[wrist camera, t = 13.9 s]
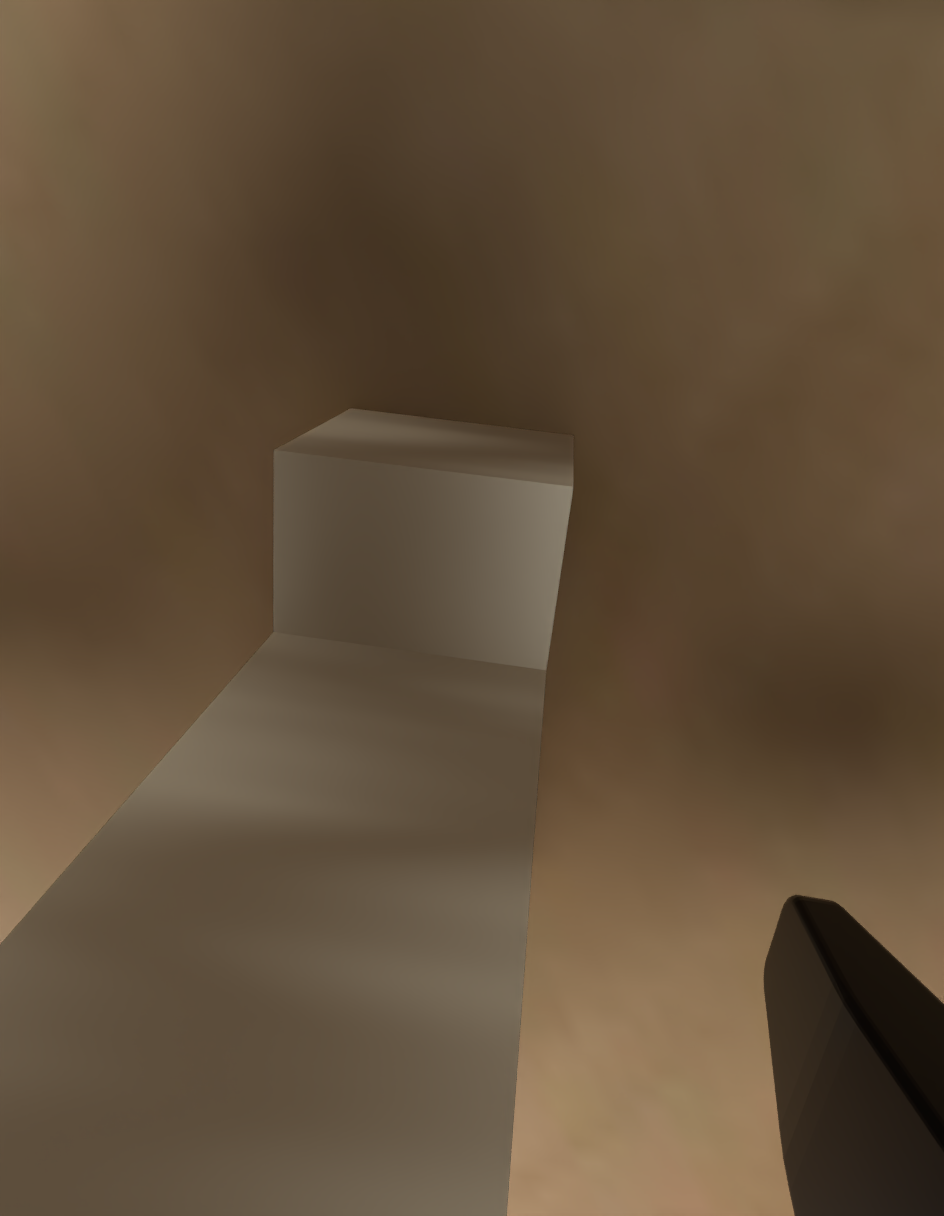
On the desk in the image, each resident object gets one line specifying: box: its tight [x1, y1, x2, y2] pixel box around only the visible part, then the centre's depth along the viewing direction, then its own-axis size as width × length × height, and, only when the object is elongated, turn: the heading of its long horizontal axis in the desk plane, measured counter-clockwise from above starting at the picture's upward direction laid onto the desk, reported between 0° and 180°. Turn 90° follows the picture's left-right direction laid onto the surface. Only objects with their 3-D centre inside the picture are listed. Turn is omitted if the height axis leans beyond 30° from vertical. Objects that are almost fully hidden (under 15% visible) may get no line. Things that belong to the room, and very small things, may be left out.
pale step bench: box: [0, 408, 574, 1216], centre depth 8 cm, size 3×7×9 cm, turn 174°
